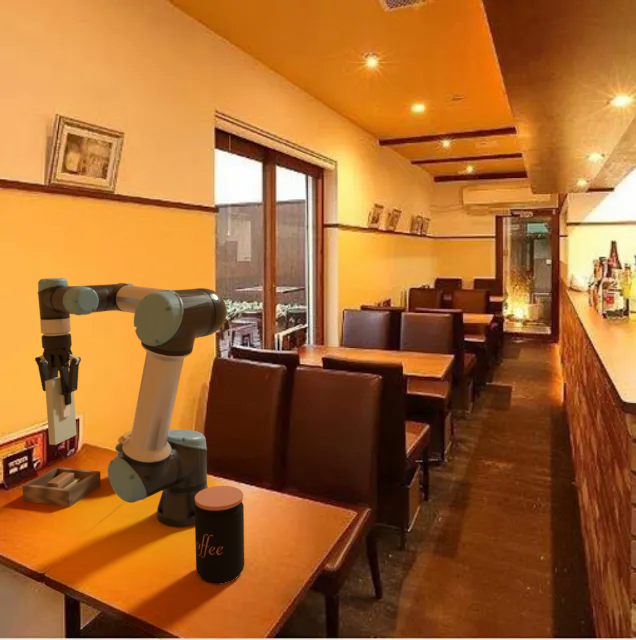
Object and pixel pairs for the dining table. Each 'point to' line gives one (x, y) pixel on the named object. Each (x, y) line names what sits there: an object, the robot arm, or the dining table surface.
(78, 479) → the offcut bottom
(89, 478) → the tray
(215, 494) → the coffee jar
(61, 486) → the offcut top
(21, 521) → the dining table surface
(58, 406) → the panel
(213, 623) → the dining table surface
